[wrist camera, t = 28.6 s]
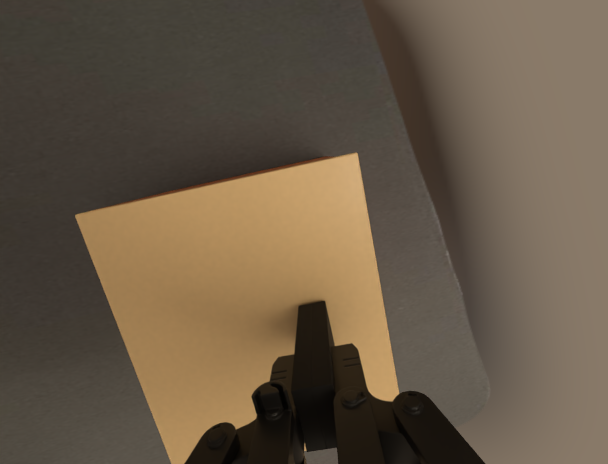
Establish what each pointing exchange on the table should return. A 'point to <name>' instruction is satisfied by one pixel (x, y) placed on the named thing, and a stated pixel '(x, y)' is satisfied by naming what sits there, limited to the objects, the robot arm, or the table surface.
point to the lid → (238, 288)
